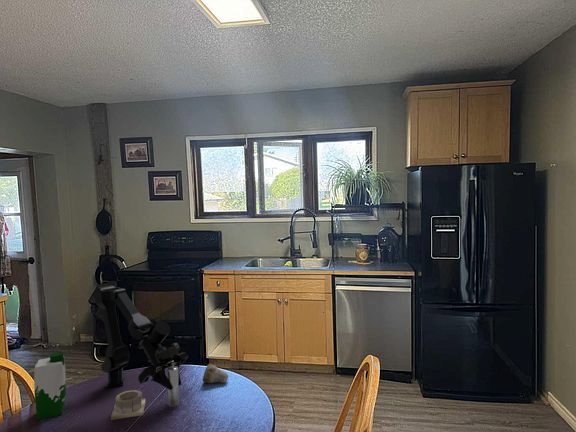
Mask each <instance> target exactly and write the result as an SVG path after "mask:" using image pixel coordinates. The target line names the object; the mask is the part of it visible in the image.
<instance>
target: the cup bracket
mask: <svg viewBox="0 0 576 432" xmlns="http://www.w3.org/2000/svg"><path fill="white" fill-rule="evenodd" d="M114 403H115V404H114V407H113V410H112V412H111V416H110V421H113V420H114V421H115V420H119V419H120V420H122V419H127V418H133V417H139V416H144V413H145V406H146V398H143V393H142V391H140V390H138V389H137V390H136V389H133V390H126V391H123V392H121V393H119V394H117V395H116V397H115V400H114Z"/></svg>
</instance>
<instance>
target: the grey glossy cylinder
mask: <svg viewBox="0 0 576 432" xmlns="http://www.w3.org/2000/svg"><path fill="white" fill-rule="evenodd" d="M167 378H168V380H169V382H170V383H171V385H172V387H173V389H172V390H169V389H168V388H167V391H168V392H167V393H168V407H170V408H176V407H179V405H180V386H179V376H178V367H176V366H173V367H169V368H167Z"/></svg>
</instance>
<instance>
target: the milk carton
mask: <svg viewBox="0 0 576 432" xmlns="http://www.w3.org/2000/svg"><path fill="white" fill-rule="evenodd" d="M33 372H34V375H33V382H34V385H33V386H34V387H33V388H34V406H35V407H34V408H35V413H36V419H38V420H42V419H47V418H52V417H53V418H54V417H57V416H61V415H63V411H64V409H65V405H66V404H65V403H66V397H67V385H66V384H67V383H66V382H67V381H66V380H67V379H66V360H65V355H64V352H63V351H59V352H53V353H51V354H50V355H49V357H47V358H40V359H38V361H37V363H36V364H35V366H34V371H33Z"/></svg>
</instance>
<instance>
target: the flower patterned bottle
mask: <svg viewBox="0 0 576 432" xmlns="http://www.w3.org/2000/svg"><path fill="white" fill-rule="evenodd" d="M228 379H229V374H228V372H225V371H223V370H221V369H220V368H218V367H217V366H216V365H214V364H212V363H208V364H207V365H206V367H205V370H204V373H203V376H202V382H203V383H204V384H205V383H206V384H213V383H221V384H225V383H227V381H228Z"/></svg>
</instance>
